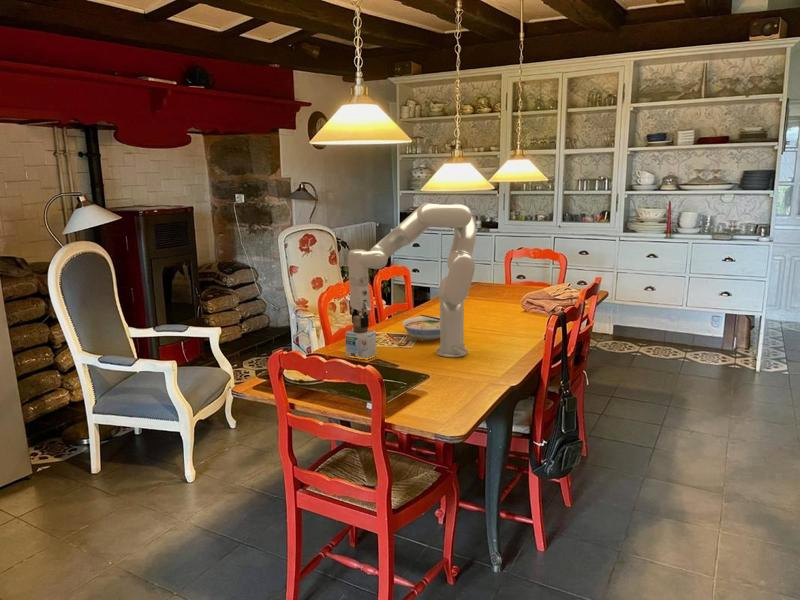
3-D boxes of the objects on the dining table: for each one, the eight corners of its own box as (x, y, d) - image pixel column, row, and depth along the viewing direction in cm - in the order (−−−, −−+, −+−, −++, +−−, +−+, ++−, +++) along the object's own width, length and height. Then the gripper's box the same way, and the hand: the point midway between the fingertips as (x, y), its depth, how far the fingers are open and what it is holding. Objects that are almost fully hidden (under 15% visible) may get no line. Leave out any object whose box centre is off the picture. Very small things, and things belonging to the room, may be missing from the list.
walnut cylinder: (370, 331, 234) (369, 316, 233) (357, 333, 231) (356, 318, 230) (363, 328, 239) (363, 313, 237) (351, 330, 236) (350, 315, 235)
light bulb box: (345, 357, 237) (344, 331, 235) (354, 353, 243) (353, 327, 240) (368, 361, 232) (367, 334, 230) (377, 356, 238) (376, 330, 236)
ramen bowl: (390, 337, 264) (389, 320, 263) (427, 328, 279) (427, 311, 277) (428, 349, 246) (428, 330, 244) (466, 339, 260) (466, 321, 258)
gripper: (377, 283, 225) (378, 328, 229) (357, 277, 240) (359, 319, 244) (360, 285, 222) (361, 331, 225) (340, 279, 236) (342, 322, 240)
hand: (360, 324), depth 235 cm, fingers open, 7 cm apart
